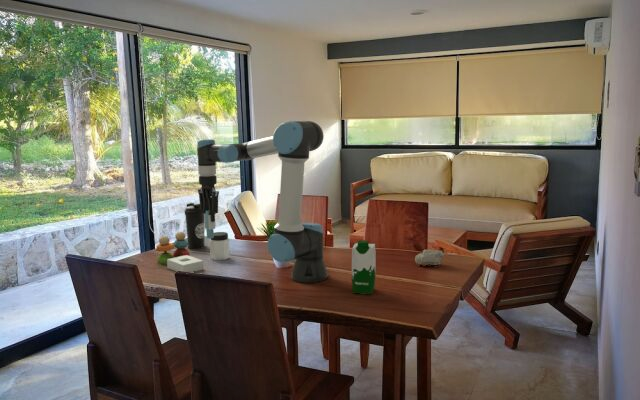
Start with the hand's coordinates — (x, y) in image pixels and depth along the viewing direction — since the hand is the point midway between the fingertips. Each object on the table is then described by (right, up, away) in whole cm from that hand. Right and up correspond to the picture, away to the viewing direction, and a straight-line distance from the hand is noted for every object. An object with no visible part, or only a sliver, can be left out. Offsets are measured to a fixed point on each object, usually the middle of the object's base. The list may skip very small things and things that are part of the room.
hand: (209, 228), depth 227 cm
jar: (0, -16, +21) cm, 26 cm away
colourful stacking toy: (-19, -16, +20) cm, 32 cm away
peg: (0, -4, +1) cm, 4 cm away
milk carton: (+65, -23, -30) cm, 75 cm away
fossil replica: (+97, -17, +4) cm, 99 cm away
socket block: (-12, -18, +4) cm, 22 cm away
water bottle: (-16, -12, +43) cm, 48 cm away
